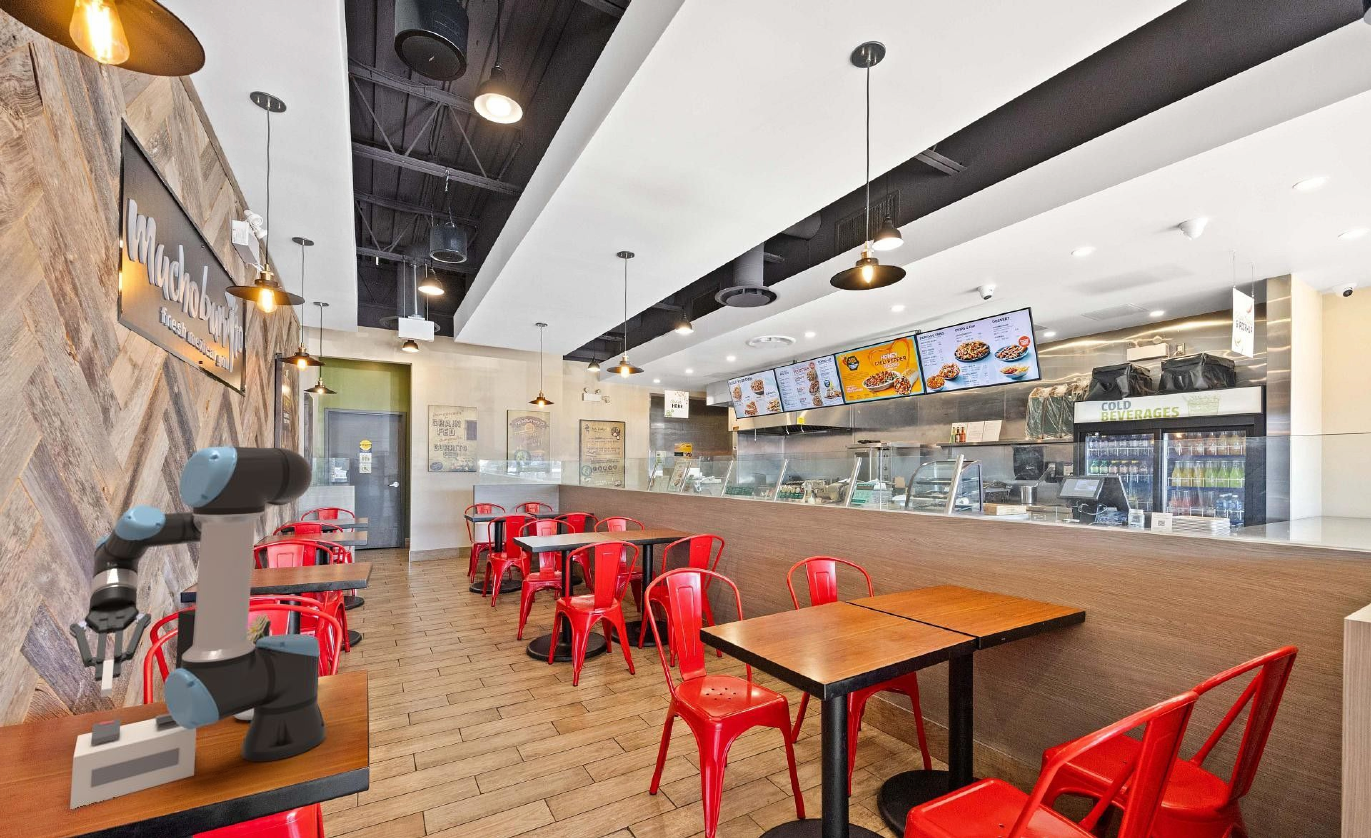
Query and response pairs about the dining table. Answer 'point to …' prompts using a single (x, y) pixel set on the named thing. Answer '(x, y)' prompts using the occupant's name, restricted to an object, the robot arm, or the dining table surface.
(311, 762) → the dining table surface
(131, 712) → the dining table surface
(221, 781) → the dining table surface
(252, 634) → the flower in vase
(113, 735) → the rocker outer
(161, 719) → the block
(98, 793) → the switch box
